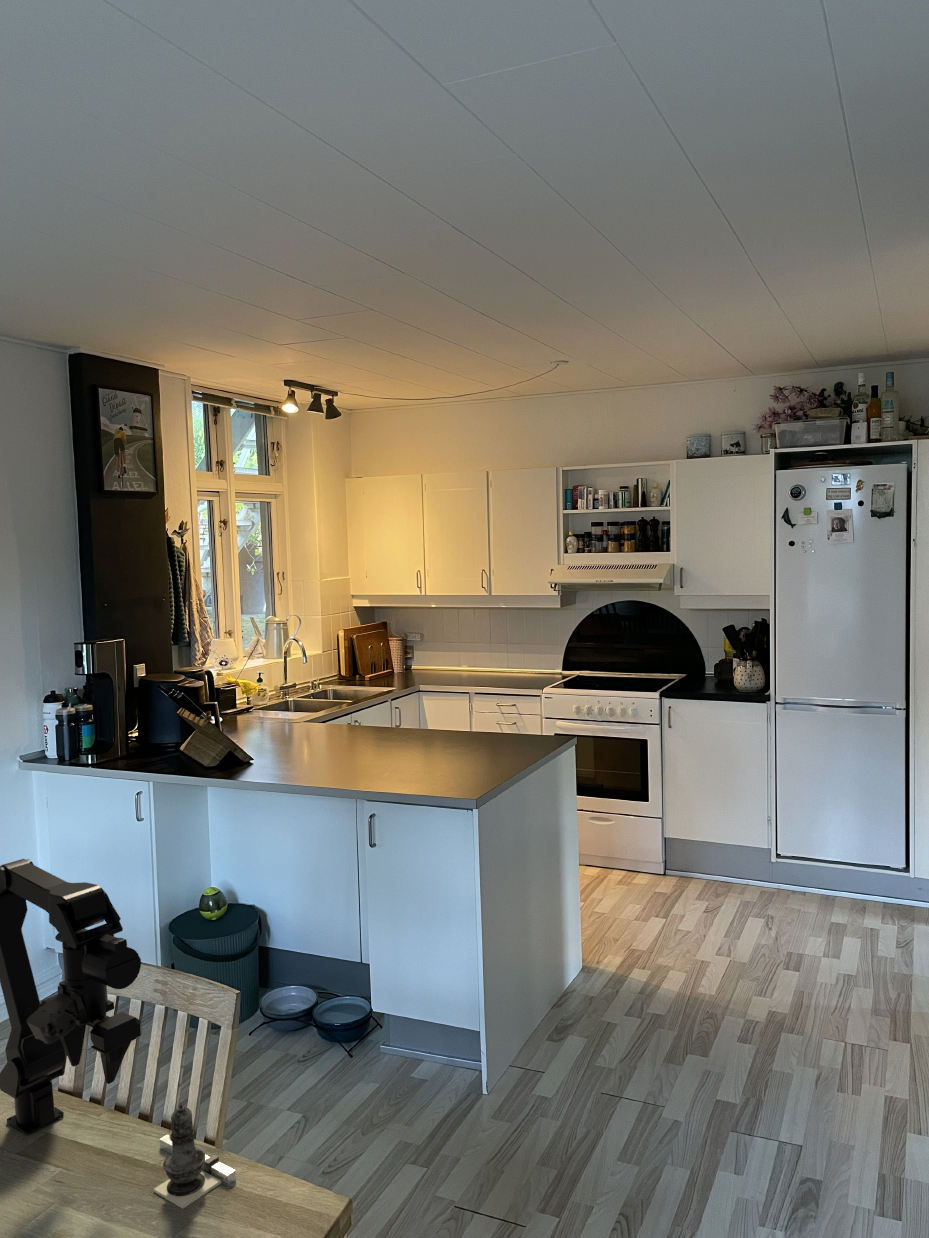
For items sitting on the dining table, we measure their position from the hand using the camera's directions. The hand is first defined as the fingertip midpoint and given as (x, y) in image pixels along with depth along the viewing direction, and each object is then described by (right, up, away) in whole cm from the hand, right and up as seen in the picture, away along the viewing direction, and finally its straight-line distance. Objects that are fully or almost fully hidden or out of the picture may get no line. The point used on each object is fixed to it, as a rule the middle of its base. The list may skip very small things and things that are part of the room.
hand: (92, 1073), depth 147 cm
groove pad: (+16, -13, -7) cm, 22 cm away
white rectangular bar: (+16, -12, -2) cm, 20 cm away
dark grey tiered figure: (+16, -13, -7) cm, 22 cm away
